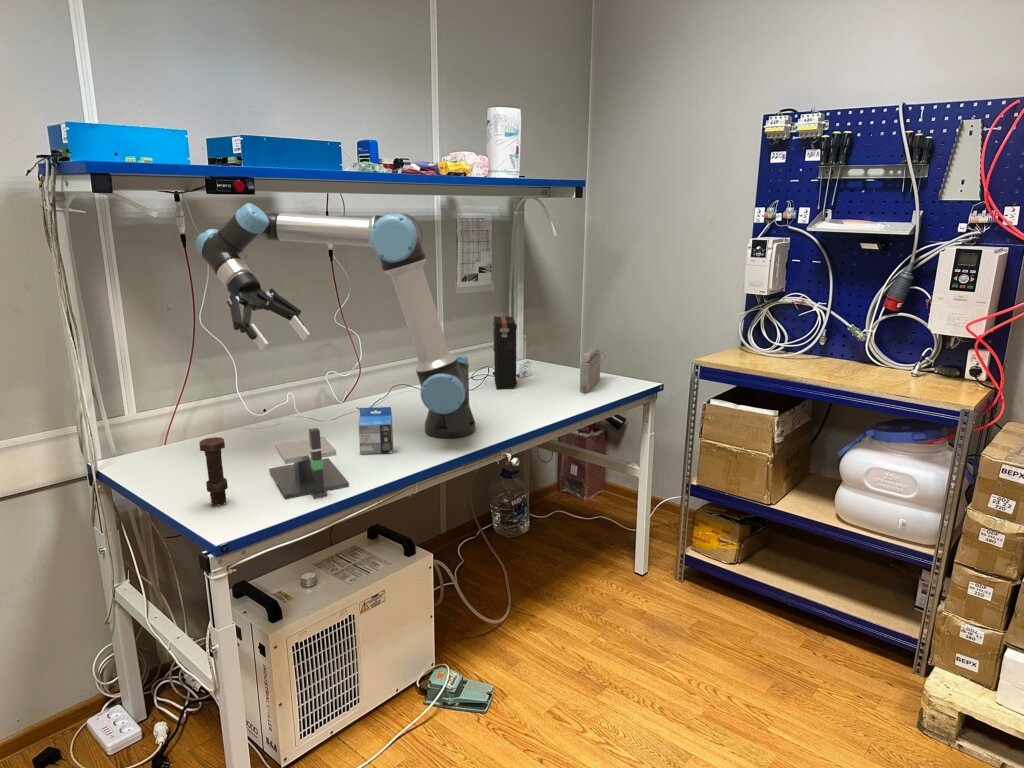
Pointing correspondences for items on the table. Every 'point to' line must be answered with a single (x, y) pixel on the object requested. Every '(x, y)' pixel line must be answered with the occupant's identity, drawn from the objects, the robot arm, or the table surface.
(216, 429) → the table surface
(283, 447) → the pan
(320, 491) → the stand
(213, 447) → the bolt
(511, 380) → the black case
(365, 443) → the label tape box
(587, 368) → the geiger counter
